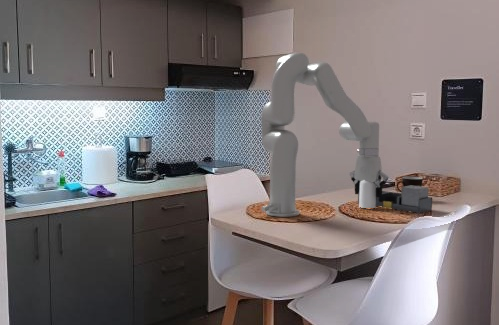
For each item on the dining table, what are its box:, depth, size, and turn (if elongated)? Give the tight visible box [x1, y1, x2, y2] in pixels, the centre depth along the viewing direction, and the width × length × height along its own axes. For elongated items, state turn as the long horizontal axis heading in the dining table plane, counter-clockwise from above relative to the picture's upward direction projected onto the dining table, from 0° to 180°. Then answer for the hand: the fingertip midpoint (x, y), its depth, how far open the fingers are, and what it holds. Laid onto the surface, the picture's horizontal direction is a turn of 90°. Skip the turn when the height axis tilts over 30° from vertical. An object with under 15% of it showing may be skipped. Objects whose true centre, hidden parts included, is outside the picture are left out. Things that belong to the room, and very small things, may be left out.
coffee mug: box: [396, 176, 424, 193], centre depth 219 cm, size 12×9×10 cm
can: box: [358, 179, 377, 209], centre depth 200 cm, size 6×6×12 cm
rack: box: [357, 185, 433, 214], centre depth 203 cm, size 10×28×9 cm, turn 44°
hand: (368, 195), depth 200 cm, fingers open, 9 cm apart
